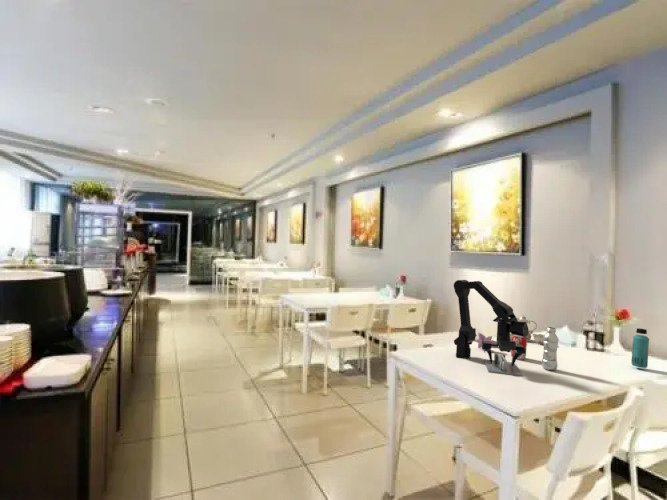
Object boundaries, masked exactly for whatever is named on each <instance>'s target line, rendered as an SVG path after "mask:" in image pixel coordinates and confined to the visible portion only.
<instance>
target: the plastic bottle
mask: <svg viewBox="0 0 667 500" xmlns="http://www.w3.org/2000/svg"><path fill="white" fill-rule="evenodd" d="M556 330H557V328H556V327H554V326H553V327H552V326H547V328H546V333H545V334H543V335H544V336H543V354H542V359H541V366H542V368H543V369H545V370H549V371H556V370H557V369H558V364H559V363H558V356H557V355H558V354H557V353H558V345H559V337H558V335H557V333H556V332H557V331H556Z"/></svg>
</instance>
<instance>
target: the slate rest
mask: <svg viewBox="0 0 667 500" xmlns="http://www.w3.org/2000/svg"><path fill="white" fill-rule="evenodd" d="M483 362H484V365H485V367H486V371H487V372H488V373H493V374H501V375H510V376H517V377H522V376H523V374H522V372H521V371H520V369H519V368H518V366H517V364H516V362H515V363H514V365H513V367H512V361H507V362H505V361H502V369H500V368H499V366H498V364H497V363H495V362H494V359H492V364H491V362H490V359H486V358H485V359H484V358H483ZM506 367H507V370H506Z"/></svg>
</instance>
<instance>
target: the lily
mask: <svg viewBox="0 0 667 500" xmlns="http://www.w3.org/2000/svg"><path fill="white" fill-rule="evenodd" d="M477 337H478V339H477V338H475V340H474V341H473V342H475V343H477V348H478V349H480V348H481V349H482V347H481V342H482V341H489V342H490V343H491V344H496V341H497V340H494V339H493V336H492V335H490V336H485V335H484V334H483V333H480V332H478V333H477ZM483 350H484V349H483ZM483 352H484V353H486V351H485V350H484V351H483Z"/></svg>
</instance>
